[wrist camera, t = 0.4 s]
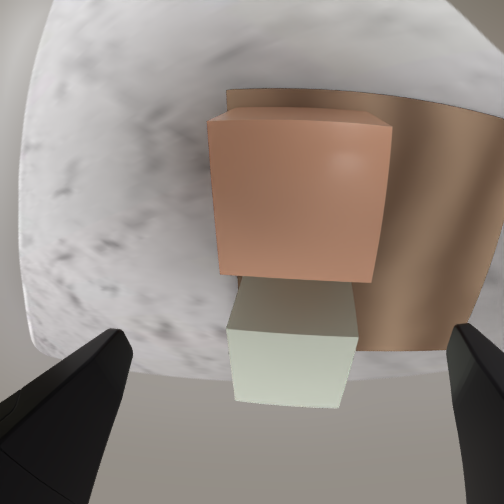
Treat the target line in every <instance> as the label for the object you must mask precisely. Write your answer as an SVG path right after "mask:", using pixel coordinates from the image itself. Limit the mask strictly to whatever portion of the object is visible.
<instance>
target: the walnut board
mask: <svg viewBox="0 0 504 504" xmlns="http://www.w3.org/2000/svg"><path fill="white" fill-rule="evenodd" d="M226 95H227V111H229V110H232V109H234V108H236V107H306V108H328V109H344V110H356V111H367V112H369V113H370V114H372V115H374V116H376V117H377V118H379V119H380V120H382V121H384V122H385V123H387V124H389V125H390V126H392V141H391V153H390V163H389V173H388V182H387V190H386V198H385V206H384V213H383V219H382V226H381V232H380V239H379V244H378V250H377V256H376V261H375V267H374V272H373V277H372V282H371V283H361V282H351V283H352V290H353V297H354V304H355V311H356V318H357V326H358V335H359V338H358V342H357V346H356V350H355V351H432V350H447V345H448V342H449V339H450V336H451V333H452V330H453V327H454V326H455V325H456V324H462V323H467V322H468V320H469V317H470V315H471V313H472V310H473V308H474V306H475V303H476V301H477V298H478V296H479V294H480V291H481V288H482V286H483V283H484V281H485V278H486V275H487V272H488V270H489V267H490V264H491V261H492V258H493V255H494V252H495V249H496V246H497V243H498V239H499V236H500V233H501V229H502V226H503V222H504V119H503V118H499V117H496V116H492V115H488V114H484V113H480V112H476V111H472V110H468V109H464V108H459V107H454V106H450V105H445V104H440V103H434V102H429V101H423V100H417V99H411V98H404V97H397V96H390V95H381V94H373V93H363V92H352V91H339V90H322V89H292V88H261V89H231V90H226ZM242 277H243V276H237V278H238V290H239V287H240V284H241V280H242Z"/></svg>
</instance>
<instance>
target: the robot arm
mask: <svg viewBox="0 0 504 504" xmlns="http://www.w3.org/2000/svg"><path fill="white" fill-rule="evenodd" d="M446 355H447V362H448V370H449V377H450V385H451V394H452V403H453V410H454V415H455V420H456V426H457V431H458V437H459V443H460V449H461V456H462V462H463V471H464V480H465V489H466V502H467V504H504V353H503V352H502V351H501V350H500V349H499V348H498V347H497V346H496V345H494V344H493V343H492V342H491V341H490V340H489V339H488V338H486V337H485V336H484V335H483V334H482V333H481V332H479V331H478V330H477V329H476V328H475V327H474V326H472V325H471V324H470V323H462V324H456V325H455V326H454V327H453V330H452V333H451V336H450V339H449V342H448V345H447V350H446ZM132 358H133V350H132V347H131V345H130V343H129V341H128V339H127V338H126V336H125V334H124V332H123V331H122V330H121V329H113V328H110V329H107V330H106V331H104V332H103V333H101V334H100V335H99V336H97V337H96V338H94V339H93V340H91V341H90V342H88V343H87V344H85V345H84V346H82V347H81V348H79V349H78V350H76V351H75V352H73V353H72V354H71V355H69V356H68V357H66V358H65V359H63V360H62V361H61V362H59V363H58V364H56V365H55V366H53V367H52V368H50V369H49V370H47V371H46V372H44V373H43V374H41V375H40V376H39V377H37V378H36V379H34V380H33V381H31V382H30V383H28V384H27V385H26V386H24V387H23V388H22V389H21V390H18V391H17V392H16V393H14V394H13V395H11V396H10V397H8V398H7V399H5V400H4V401H2V402H1V403H0V504H88V503H89V499H90V496H91V492H92V489H93V486H94V482H95V479H96V476H97V472H98V469H99V466H100V463H101V459H102V456H103V453H104V450H105V447H106V444H107V441H108V438H109V435H110V432H111V429H112V426H113V423H114V420H115V417H116V415H117V412H118V409H119V406H120V403H121V400H122V396H123V392H124V389H125V385H126V380H127V377H128V373H129V369H130V365H131V361H132Z"/></svg>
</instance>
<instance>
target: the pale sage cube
mask: <svg viewBox="0 0 504 504" xmlns="http://www.w3.org/2000/svg"><path fill="white" fill-rule="evenodd" d="M226 332H227V340H228V348H229V356H230V364H231V372H232V380H233V387H234V394H235V400H236V401H243V402H252V403H261V404H273V405H285V406H299V407H319V408H339V404H340V401H341V398H342V395H343V391H344V389H345V385H346V382H347V378H348V375H349V372H350V368H351V365H352V361H353V357H354V354H355V350H356V346H357V342H358V338H359V335H358V326H357V318H356V311H355V304H354V297H353V290H352V283H351V282H339V281H319V280H301V279H283V278H266V277H250V276H243V277H242V280H241V284H240V287H239V290H238V293H237V296H236V299H235V302H234V306H233V309H232V312H231V315H230V318H229V321H228V325H227V328H226Z"/></svg>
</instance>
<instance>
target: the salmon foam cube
mask: <svg viewBox="0 0 504 504" xmlns="http://www.w3.org/2000/svg"><path fill="white" fill-rule="evenodd" d="M207 130H208V144H209V158H210V171H211V183H212V195H213V206H214V217H215V228H216V239H217V249H218V259H219V269H220V275H235V276H250V277H266V278H283V279H301V280H319V281H339V282H361V283H371V282H372V277H373V272H374V267H375V261H376V256H377V250H378V244H379V239H380V232H381V226H382V219H383V213H384V206H385V198H386V190H387V182H388V173H389V163H390V153H391V141H392V126H390V125H389V124H387V123H385V122H384V121H382V120H380V119H379V118H377V117H376V116H374V115H372V114H370V113H369V112H367V111H356V110H344V109H328V108H306V107H236V108H234V109H232V110H229V111H227V112H225V113H223V114H221V115H219V116H217V117H214V118H212V119H210V120H208V121H207Z"/></svg>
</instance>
